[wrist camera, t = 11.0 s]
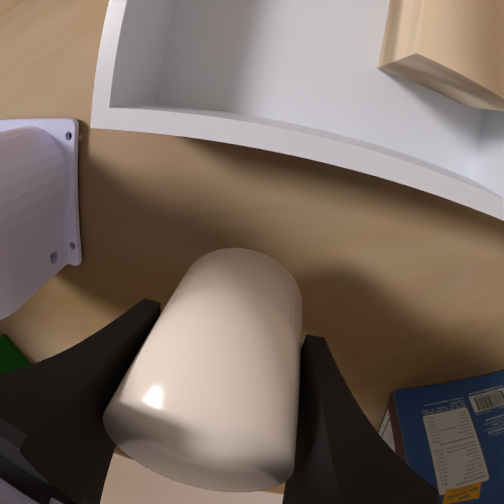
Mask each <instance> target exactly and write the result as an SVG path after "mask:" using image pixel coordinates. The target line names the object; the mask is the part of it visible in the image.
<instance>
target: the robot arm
mask: <svg viewBox="0 0 504 504" xmlns="http://www.w3.org/2000/svg"><path fill="white" fill-rule="evenodd" d="M70 132H71V134H72V138H70V136H69V134H70ZM78 136H79V123H78V121H77V120H76V119H74V118H28V119H5V120H0V320H2V319H4V318H6V317H8V316H10V315H11V314H13V313H14V312H15V311H17V310H18V309H19V308H20V307H21V306H22V305H23V304H24V303H25V302H26V301H27V300H28V299H30V298H31V297H32V296H33V295H34V294H35V293H36V292H37V291H38V290H39V289H40V288H41V287H42V286H43V285H44V284H46V283H47V282H48V281H49V280H50V279H51V278H52V277H53V276H54V275H56V274H57V273H58V272H59V271H60V270H61V269H62V268H63V267H65V266H66V265H67V264H71V265H74V266H78V265H79V264H80V263H81V262H82V252H81V241H80V227H79V209H78ZM73 243H74V245H75V246H74V245H73ZM159 316H160V303H159V302H155V301H151V300H147V299H144V300H142V301H141V302H139V303H138V304H136V305H135V306H133V307H132V308H131V309H129V310H128V311H127V312H125V313H124V314H122V315H121V316H120V317H118V318H117V319H115V320H114V321H113V322H111V323H110V324H108V325H107V326H105V327H104V328H102V329H101V330H99V331H98V332H96V333H95V334H93V335H91V336H90V337H88V338H87V339H85V340H83V341H82V342H80V343H78V344H76V345H75V346H73V347H71V348H69V349H67V350H65V351H63V352H61V353H59V354H57V355H55V356H53V357H50V358H48V359H45V360H43V361H40V362H38V363H35V364H33V365H30V366H27V367H24V368H21V369H17V370H14V371H10V372H6V373H2V374H0V504H100V499H101V496H102V491H103V487H104V482H105V479H106V476H107V472H108V468H109V465H110V462H111V458H112V455H113V452H114V449H115V446H116V444H115V443H114V442H113V441H112V439H111V438H110V437H109V435H108V434H107V432H106V430H105V428H104V425H103V414H104V412H105V410H106V408H107V406H108V404H109V403H110V401H111V399H112V397H113V395H114V394H115V392H116V390H117V388H118V387H119V385H120V383H121V381H122V379H123V378H124V376H125V374H126V372H127V371H128V369H129V367H130V365H131V364H132V362H133V360H134V358H135V357H136V355H137V353H138V352H139V350H140V348H141V346H142V345H143V343H144V341H145V340H146V338H147V336H148V335H149V333H150V331H151V330H152V328H153V326H154V325H155V323H156V321H157V320H158V318H159ZM282 504H440V498H439V494H438V490H437V489H436V488H435V487H433V486H432V485H431V484H430V483H428V482H427V481H426V480H424V479H423V478H422V477H421V476H419V475H418V474H417V473H416V472H415V471H413V470H412V469H411V468H410V467H409V466H408V465H407V464H406V463H405V462H404V461H403V460H402V459H401V458H400V457H399V456H398V455H397V454H396V453H395V452H394V451H393V450H392V449H391V448H390V446H389V445H388V444H387V443H386V442H385V441H384V440H383V439H382V437H381V436H380V435H379V434H378V432H377V431H376V430H375V429H374V427H373V426H372V424H371V423H370V422H369V420H368V419H367V417H366V416H365V414H364V413H363V411H362V410H361V408H360V407H359V405H358V403H357V402H356V400H355V398H354V397H353V395H352V393H351V392H350V390H349V388H348V386H347V384H346V382H345V380H344V379H343V377H342V375H341V373H340V371H339V369H338V367H337V365H336V363H335V360H334V358H333V356H332V354H331V352H330V350H329V347H328V345H327V343H326V341H325V339H324V338H323V337H318V336H312V335H306V338H305V340H304V343H303V345H302V348H301V364H300V387H299V406H298V422H297V437H296V451H295V463H294V472H293V473H292V475H291V477H290V478H289V479H288V480H287V481H286V484H285V490H284V497H283V503H282Z"/></svg>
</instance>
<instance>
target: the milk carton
mask: <svg viewBox="0 0 504 504" xmlns="http://www.w3.org/2000/svg"><path fill="white" fill-rule="evenodd" d="M27 366H30V364H29V363H28V361H27V360H26V359H25V358H24V357H23V356H22V354H21V353H20V352H19V351H18V350H17V348H16V347H15V346H14V345H13V344H12V342H11V341H10V340H9V339H8V337H7V336H6V335H4V336H2V337H1V338H0V374H2V373H6V372H10V371H14V370H17V369H21V368H24V367H27Z"/></svg>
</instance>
